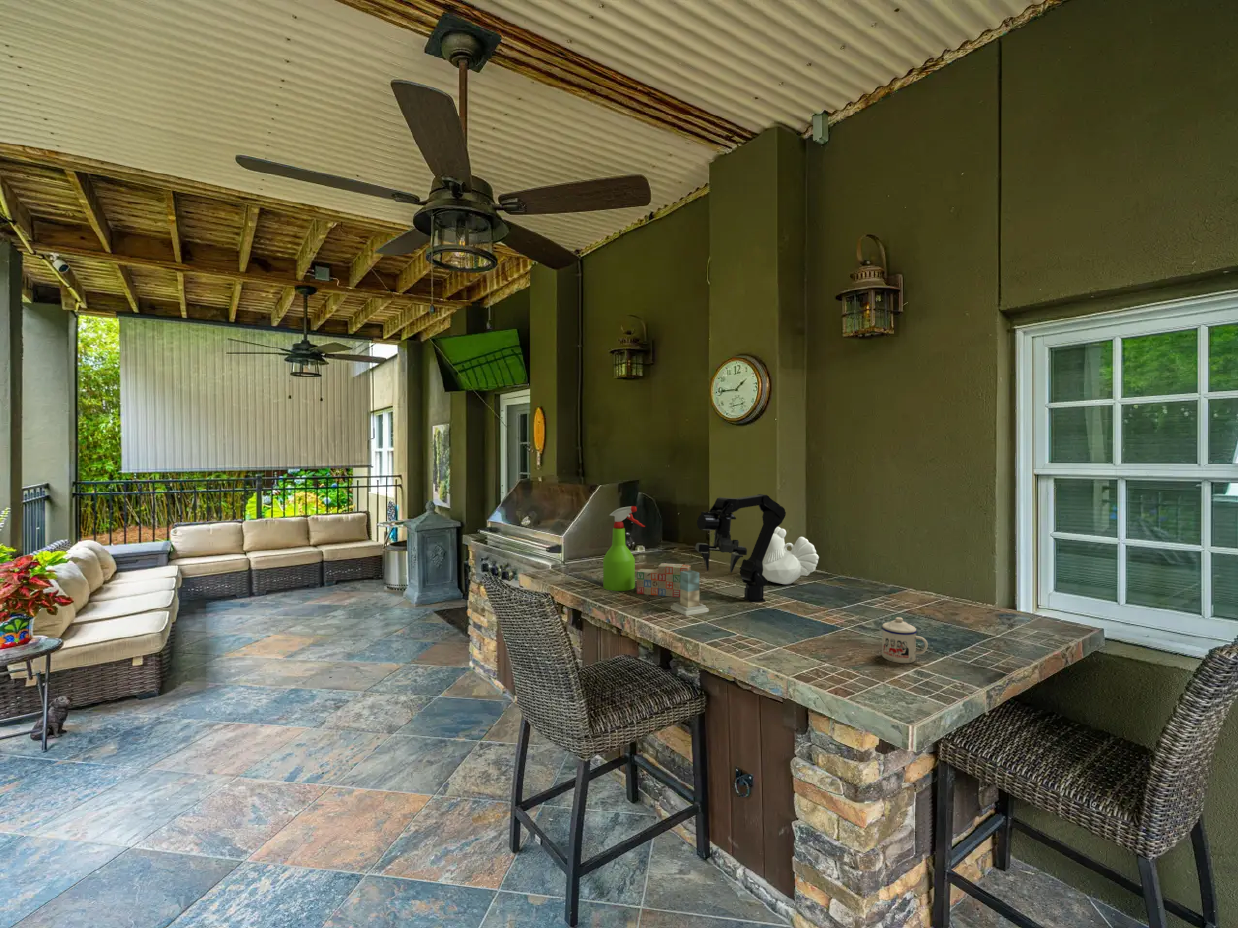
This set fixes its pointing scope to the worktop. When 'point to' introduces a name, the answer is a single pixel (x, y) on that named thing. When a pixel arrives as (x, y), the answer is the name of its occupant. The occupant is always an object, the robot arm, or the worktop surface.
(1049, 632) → the worktop surface
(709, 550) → the robot arm
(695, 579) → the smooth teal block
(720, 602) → the worktop surface
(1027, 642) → the worktop surface
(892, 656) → the teacup with lid
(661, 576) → the stack of blocks
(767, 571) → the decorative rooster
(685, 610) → the base plate
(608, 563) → the spray bottle
